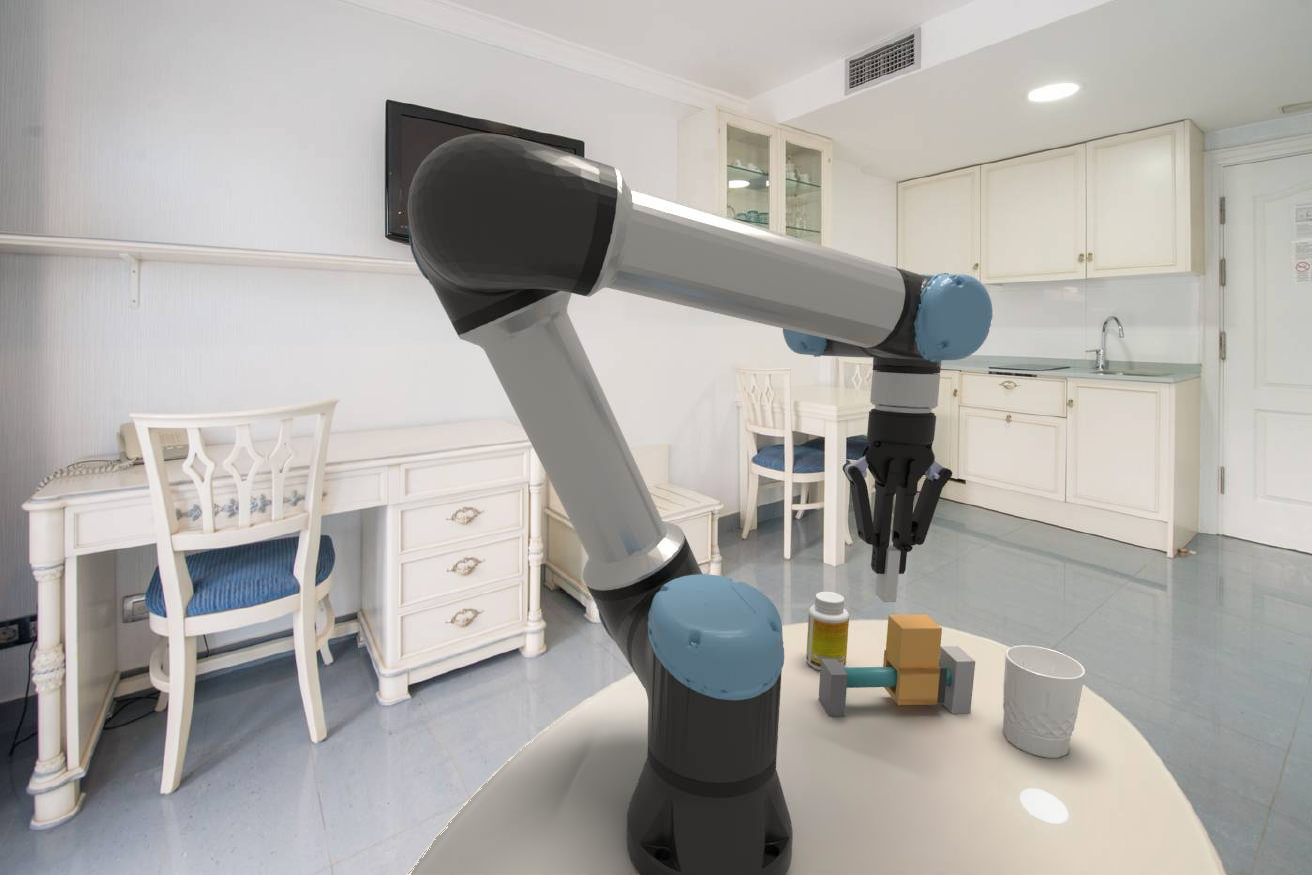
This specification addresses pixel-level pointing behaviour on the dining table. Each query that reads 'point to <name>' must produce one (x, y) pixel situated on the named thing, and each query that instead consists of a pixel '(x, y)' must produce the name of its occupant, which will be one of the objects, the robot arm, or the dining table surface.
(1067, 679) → the white cup
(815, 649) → the supplement bottle
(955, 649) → the teal axle dumbbell
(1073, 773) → the dining table surface
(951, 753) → the dining table surface
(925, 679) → the sleeve
